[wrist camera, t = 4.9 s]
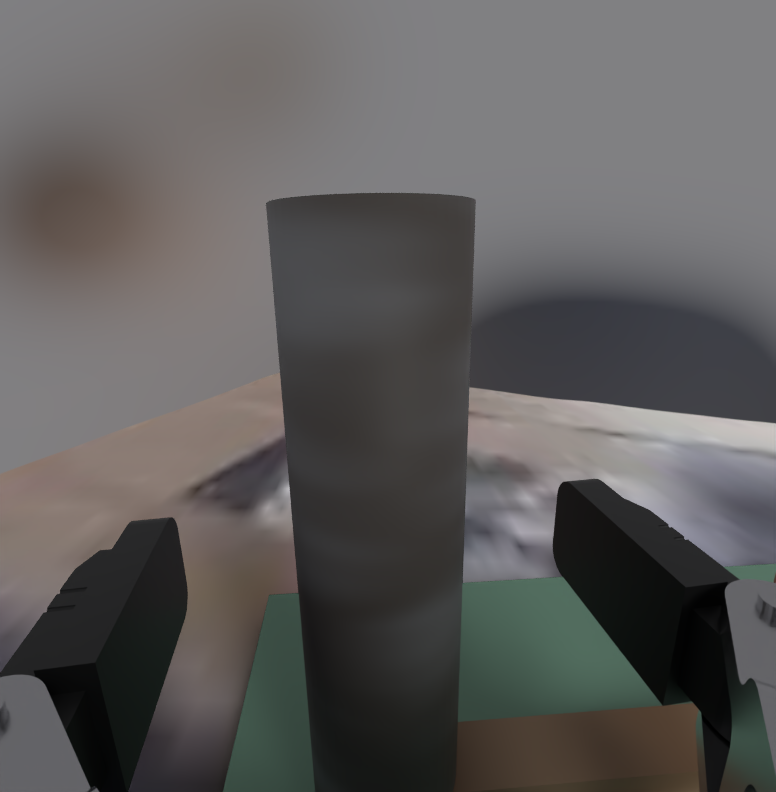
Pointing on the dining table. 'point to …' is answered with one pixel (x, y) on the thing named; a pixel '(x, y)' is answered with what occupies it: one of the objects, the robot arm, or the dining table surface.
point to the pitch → (478, 677)
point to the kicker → (409, 516)
